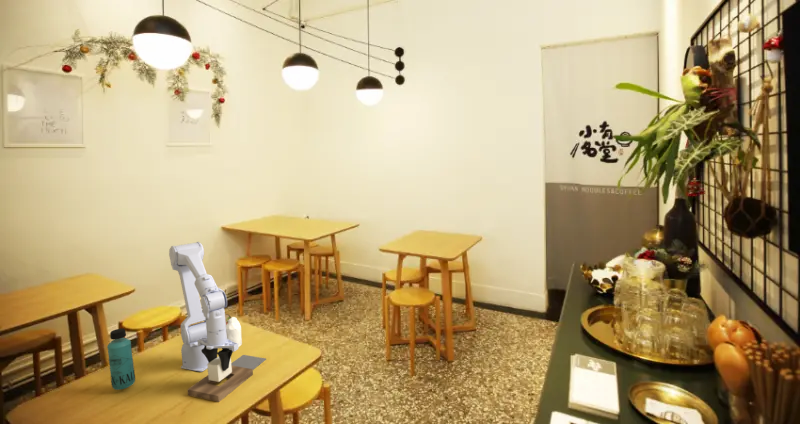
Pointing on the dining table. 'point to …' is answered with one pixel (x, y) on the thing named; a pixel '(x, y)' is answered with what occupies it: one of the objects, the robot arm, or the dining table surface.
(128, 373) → the beverage bottle
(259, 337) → the dining table surface
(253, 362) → the mat
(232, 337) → the roll
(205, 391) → the block
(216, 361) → the plug
